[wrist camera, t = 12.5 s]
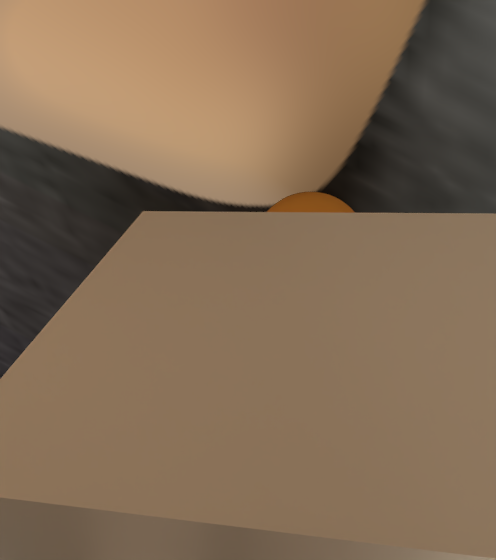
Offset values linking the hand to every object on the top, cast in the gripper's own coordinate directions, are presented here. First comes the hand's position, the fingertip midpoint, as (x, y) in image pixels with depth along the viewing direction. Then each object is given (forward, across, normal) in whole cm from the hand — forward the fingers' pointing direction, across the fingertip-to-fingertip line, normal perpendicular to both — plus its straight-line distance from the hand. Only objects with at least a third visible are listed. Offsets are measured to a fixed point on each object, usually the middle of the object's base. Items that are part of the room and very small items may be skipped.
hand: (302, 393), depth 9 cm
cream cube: (+2, 0, 0) cm, 2 cm away
